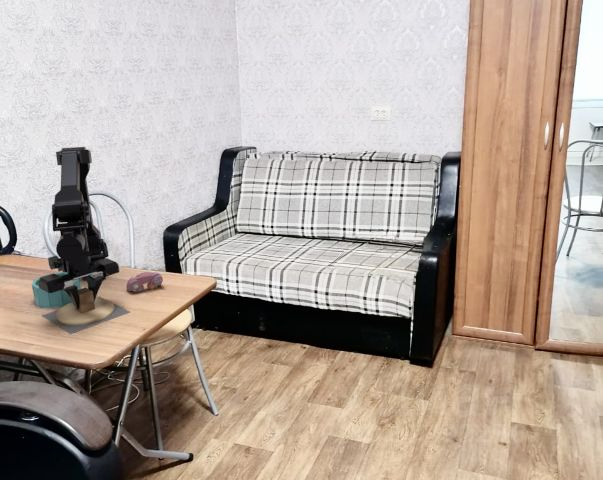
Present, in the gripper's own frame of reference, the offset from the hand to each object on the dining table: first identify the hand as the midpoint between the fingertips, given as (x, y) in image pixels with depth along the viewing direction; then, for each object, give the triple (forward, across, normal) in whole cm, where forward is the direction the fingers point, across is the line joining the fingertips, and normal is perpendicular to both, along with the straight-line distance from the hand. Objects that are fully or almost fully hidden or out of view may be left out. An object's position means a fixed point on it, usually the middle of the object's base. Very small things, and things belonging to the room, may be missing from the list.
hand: (84, 306), depth 147 cm
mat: (+2, 0, 0) cm, 2 cm away
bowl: (+2, 0, -15) cm, 15 cm away
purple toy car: (+3, -19, -3) cm, 20 cm away
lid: (+2, 0, 0) cm, 2 cm away
